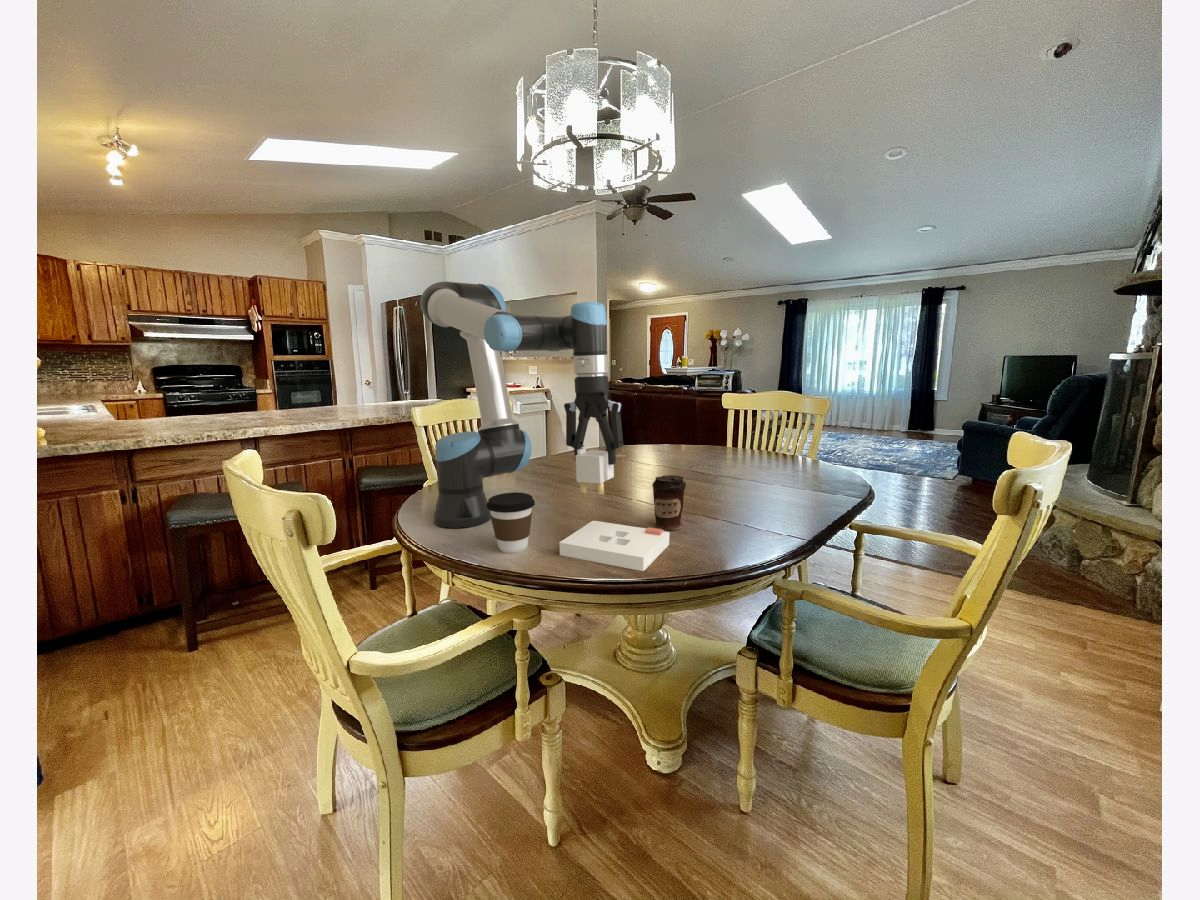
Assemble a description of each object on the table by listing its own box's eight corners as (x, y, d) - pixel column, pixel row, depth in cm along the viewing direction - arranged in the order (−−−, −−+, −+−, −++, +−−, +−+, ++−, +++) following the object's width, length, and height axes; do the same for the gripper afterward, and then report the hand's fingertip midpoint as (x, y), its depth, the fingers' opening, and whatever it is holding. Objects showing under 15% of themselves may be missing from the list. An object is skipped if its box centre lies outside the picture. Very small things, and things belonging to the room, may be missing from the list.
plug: (600, 495, 110) (599, 456, 109) (577, 493, 113) (575, 455, 111) (614, 488, 116) (613, 451, 115) (591, 486, 119) (590, 450, 118)
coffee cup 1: (495, 539, 121) (492, 491, 119) (540, 539, 121) (538, 491, 118) (483, 557, 110) (480, 505, 108) (532, 557, 110) (530, 505, 108)
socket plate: (643, 571, 102) (643, 553, 101) (559, 555, 111) (559, 538, 110) (669, 544, 116) (669, 528, 115) (593, 531, 125) (593, 517, 124)
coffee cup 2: (684, 534, 122) (685, 482, 120) (650, 532, 124) (650, 481, 121) (685, 522, 131) (686, 474, 128) (654, 520, 132) (654, 473, 130)
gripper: (545, 377, 111) (551, 478, 115) (623, 374, 102) (626, 484, 106) (563, 375, 118) (568, 471, 122) (637, 373, 109) (640, 476, 113)
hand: (595, 477), depth 114 cm, fingers closed on plug, 6 cm apart
